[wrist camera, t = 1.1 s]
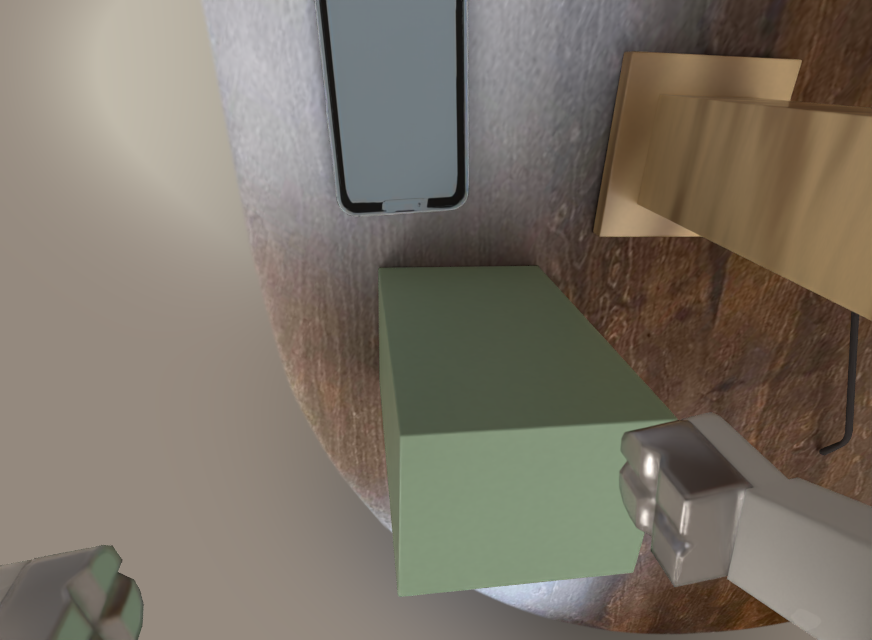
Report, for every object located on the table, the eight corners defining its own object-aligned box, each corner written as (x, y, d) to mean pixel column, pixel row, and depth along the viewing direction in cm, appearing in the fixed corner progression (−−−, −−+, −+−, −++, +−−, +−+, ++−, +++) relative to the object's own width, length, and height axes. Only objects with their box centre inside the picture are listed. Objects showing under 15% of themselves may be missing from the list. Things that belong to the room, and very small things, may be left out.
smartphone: (468, -128, 23) (470, 209, 30) (464, -121, 24) (466, 205, 30) (298, -130, 22) (337, 218, 29) (300, -122, 23) (338, 214, 30)
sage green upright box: (379, 380, 35) (397, 598, 21) (378, 267, 31) (399, 435, 17) (528, 373, 36) (640, 572, 22) (542, 265, 33) (687, 418, 19)
